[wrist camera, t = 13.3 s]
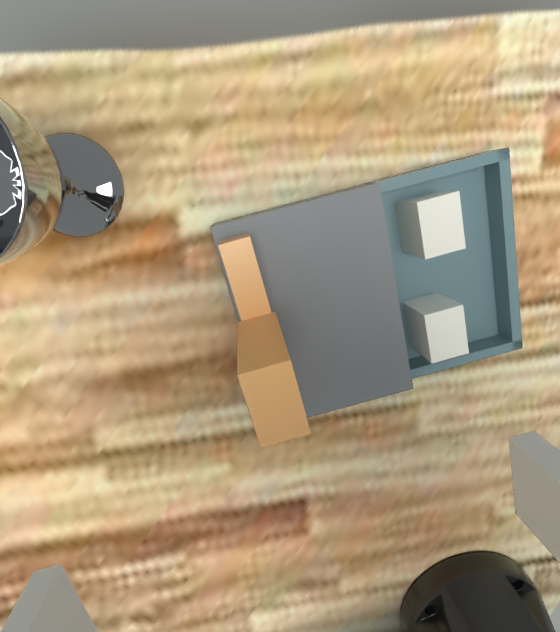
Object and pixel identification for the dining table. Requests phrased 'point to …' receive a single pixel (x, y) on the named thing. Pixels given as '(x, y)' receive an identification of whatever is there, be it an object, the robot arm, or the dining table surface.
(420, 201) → the white rectangular block
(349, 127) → the dining table surface
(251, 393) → the orange t-shaped block
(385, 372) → the grey drawer housing
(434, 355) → the white cube block
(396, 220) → the blue-grey flat tray
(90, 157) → the wine glass
